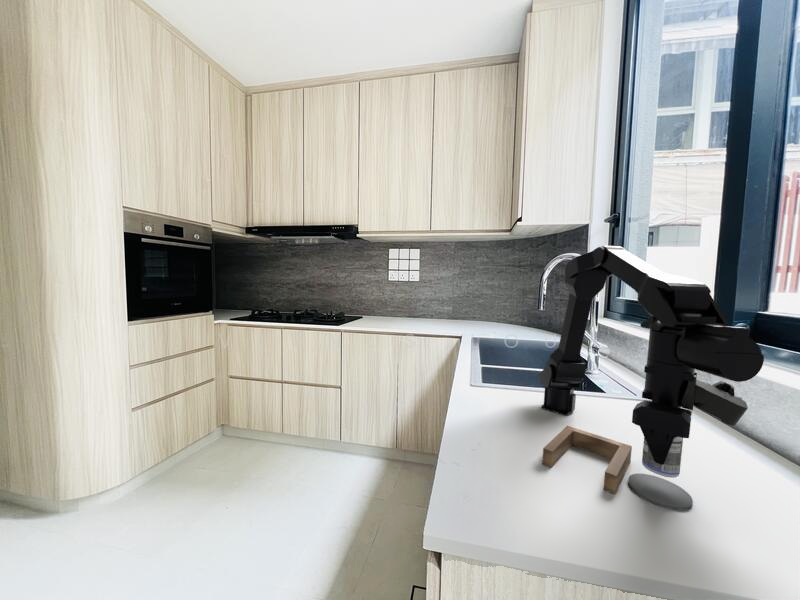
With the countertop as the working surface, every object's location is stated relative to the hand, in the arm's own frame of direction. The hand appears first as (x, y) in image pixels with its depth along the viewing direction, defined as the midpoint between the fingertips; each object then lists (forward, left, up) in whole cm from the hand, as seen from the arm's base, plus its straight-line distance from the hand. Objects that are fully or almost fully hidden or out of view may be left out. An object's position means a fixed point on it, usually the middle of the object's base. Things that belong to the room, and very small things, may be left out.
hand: (660, 457), depth 51 cm
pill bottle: (0, 0, -2) cm, 2 cm away
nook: (-10, +1, -6) cm, 12 cm away
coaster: (0, 0, -6) cm, 6 cm away
